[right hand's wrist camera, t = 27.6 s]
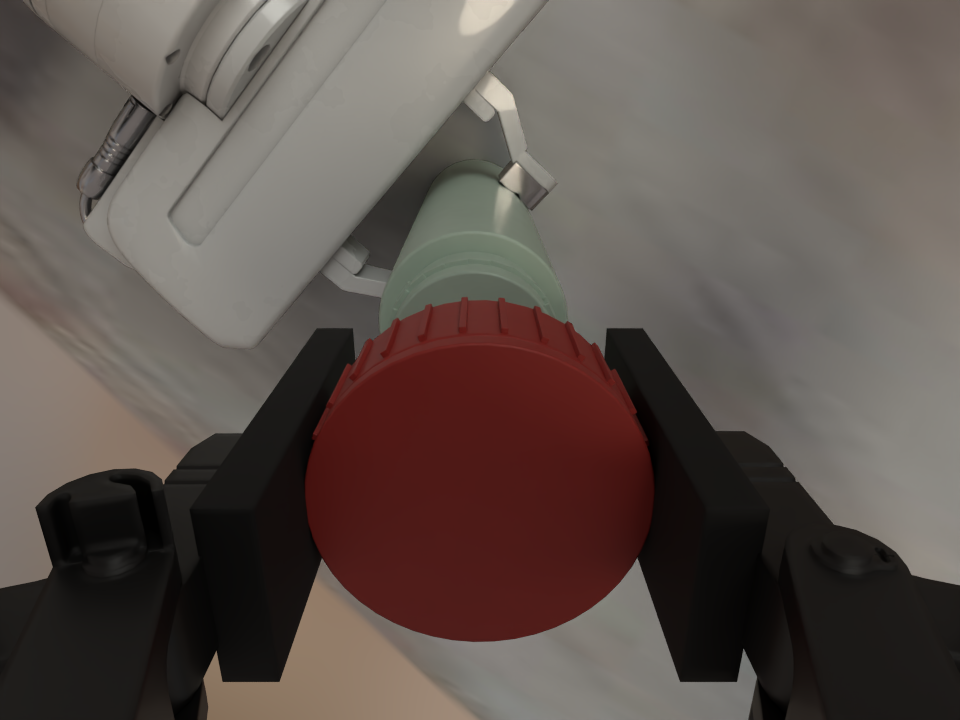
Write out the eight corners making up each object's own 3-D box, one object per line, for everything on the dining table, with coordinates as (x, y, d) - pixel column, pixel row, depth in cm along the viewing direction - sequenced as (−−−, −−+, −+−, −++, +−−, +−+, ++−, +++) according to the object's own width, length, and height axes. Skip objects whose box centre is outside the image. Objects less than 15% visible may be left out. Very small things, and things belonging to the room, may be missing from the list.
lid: (457, 227, 11) (452, 257, 9) (692, 422, 12) (736, 488, 10) (270, 456, 12) (230, 527, 10) (497, 606, 14) (500, 695, 11)
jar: (452, 274, 34) (428, 475, 16) (407, 187, 32) (326, 307, 15) (539, 232, 33) (611, 396, 16) (497, 141, 31) (524, 209, 14)
